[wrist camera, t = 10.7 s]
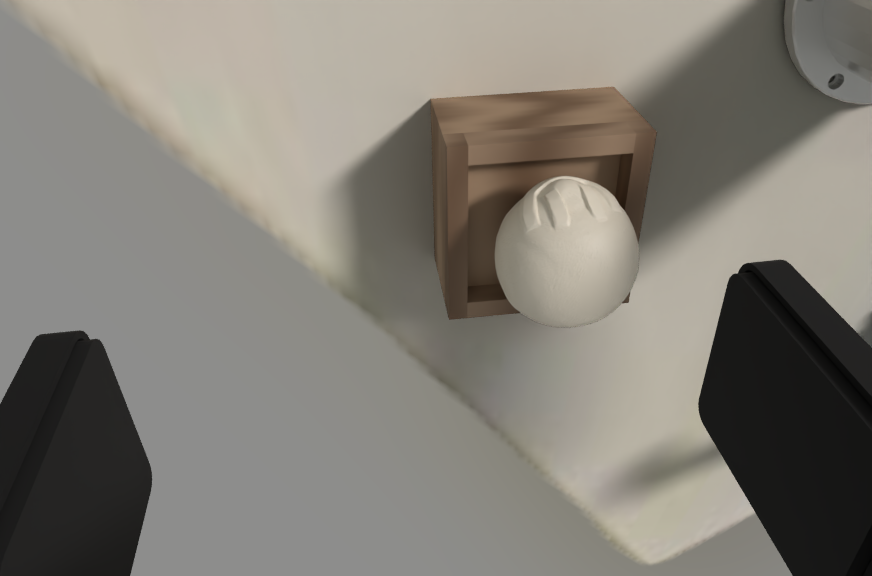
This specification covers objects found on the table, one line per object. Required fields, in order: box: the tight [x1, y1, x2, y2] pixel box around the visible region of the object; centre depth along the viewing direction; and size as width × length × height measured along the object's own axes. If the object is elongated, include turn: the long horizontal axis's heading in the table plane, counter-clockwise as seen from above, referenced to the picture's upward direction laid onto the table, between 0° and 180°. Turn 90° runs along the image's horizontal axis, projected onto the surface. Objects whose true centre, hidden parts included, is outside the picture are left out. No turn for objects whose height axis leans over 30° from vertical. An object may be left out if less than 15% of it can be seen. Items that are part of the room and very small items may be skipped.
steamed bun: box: [495, 176, 639, 328], centre depth 34 cm, size 7×7×7 cm
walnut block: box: [431, 87, 657, 320], centre depth 39 cm, size 10×10×6 cm
